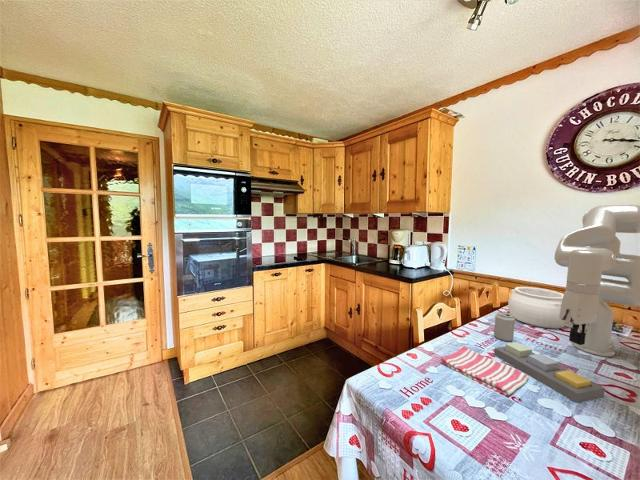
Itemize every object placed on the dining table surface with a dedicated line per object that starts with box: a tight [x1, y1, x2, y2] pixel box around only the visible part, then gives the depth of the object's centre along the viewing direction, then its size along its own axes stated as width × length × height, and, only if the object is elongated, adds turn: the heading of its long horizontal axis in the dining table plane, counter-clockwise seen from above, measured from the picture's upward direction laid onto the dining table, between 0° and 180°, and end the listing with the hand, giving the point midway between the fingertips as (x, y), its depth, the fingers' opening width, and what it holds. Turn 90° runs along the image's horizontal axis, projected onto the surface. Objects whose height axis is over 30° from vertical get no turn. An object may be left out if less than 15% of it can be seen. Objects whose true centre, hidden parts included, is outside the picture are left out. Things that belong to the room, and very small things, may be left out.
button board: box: [493, 346, 606, 403], centre depth 93 cm, size 12×28×3 cm, turn 14°
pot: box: [507, 286, 566, 329], centre depth 141 cm, size 29×26×16 cm
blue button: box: [528, 353, 560, 372], centre depth 93 cm, size 6×6×3 cm
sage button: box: [504, 341, 533, 358], centre depth 101 cm, size 6×6×3 cm
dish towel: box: [440, 345, 530, 397], centre depth 94 cm, size 17×23×4 cm
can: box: [493, 311, 516, 342], centre depth 120 cm, size 8×8×12 cm
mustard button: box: [555, 369, 592, 389], centre depth 84 cm, size 6×6×3 cm
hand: (576, 342), depth 83 cm, fingers closed
